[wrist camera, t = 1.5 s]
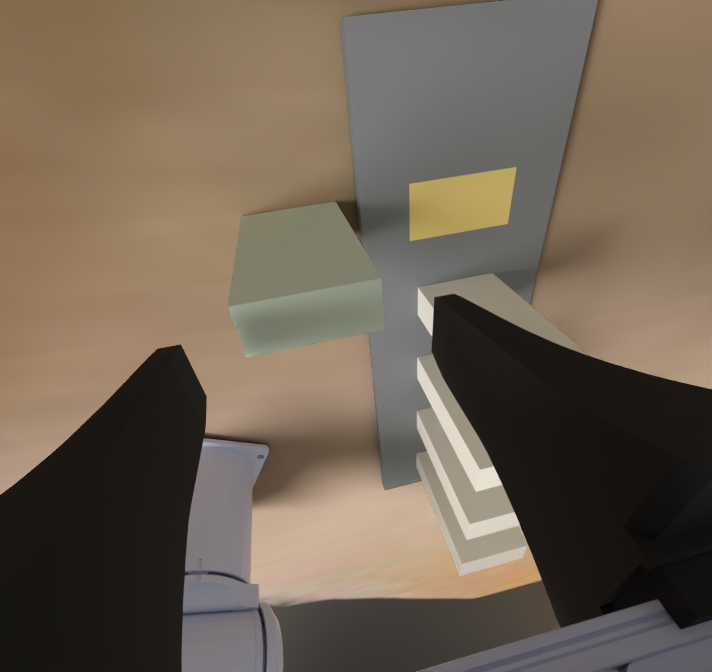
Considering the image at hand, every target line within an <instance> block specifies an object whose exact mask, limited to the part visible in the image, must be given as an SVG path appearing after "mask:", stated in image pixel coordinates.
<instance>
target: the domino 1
mask: <svg viewBox="0 0 712 672" xmlns="http://www.w3.org/2000/svg"><path fill="white" fill-rule="evenodd" d="M228 309H229V311H230V314H231V317H232V320H233V323H234V325H235V328H236V331H237V334H238V336H239V339H240V342H241V345H242V347H243V350H244V353H245V356H246V358H247V357H252V356H256V355H261V354H266V353H271V352H276V351H281V350H286V349H291V348H296V347H300V346H305V345H310V344H315V343H320V342H325V341H330V340H335V339H340V338H345V337H349V336H354V335H359V334H364V333H369V332H374V331H379V330H384V329H385V328H384V311H383V294H382V278H381V276H380V275H379V273H378V271H377V270H376V268H375V266H374V265H373V263H372V261H371V260H370V258H369V256H368V255H367V253H366V251H365V250H364V248H363V246H362V245H361V243H360V241H359V240H358V238H357V236H356V235H355V233H354V231H353V230H352V228H351V226H350V225H349V223H348V221H347V220H346V218H345V216H344V215H343V213H342V211H341V210H340V208H339V206H338V205H337V203H336V201H333V202H327V203H321V204H314V205H308V206H302V207H296V208H289V209H283V210H277V211H271V212H265V213H258V214H252V215H246V216H241V221H240V228H239V235H238V242H237V249H236V255H235V262H234V269H233V276H232V283H231V289H230V296H229V303H228Z"/></svg>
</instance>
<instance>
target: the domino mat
mask: <svg viewBox="0 0 712 672" xmlns="http://www.w3.org/2000/svg"><path fill="white" fill-rule="evenodd" d="M597 4H598V0H504V1H494V2H484V3H474V4H465V5H455V6H445V7H435V8H426V9H416V10H406V11H396V12H387V13H377V14H367V15H357V16H348V17H343V18H341V19H340V26H341V37H342V48H343V59H344V70H345V81H346V91H347V102H348V113H349V124H350V135H351V146H352V157H353V168H354V179H355V189H356V200H357V211H358V222H359V233H360V243H361V245H362V246H363V248H364V250H365V251H366V253H367V255H368V256H369V258H370V260H371V261H372V263H373V265H374V266H375V268H376V270H377V271H378V273H379V275H380V276H381V278H382V294H383V311H384V328H385V329H384V330H379V331H374V332H369V342H370V353H371V364H372V375H373V385H374V396H375V407H376V418H377V429H378V440H379V451H380V462H381V472H382V483H383V486H384V490H388V489H392V488H396V487H400V486H404V485H408V484H412V483H416V482H419V481H422V480H421V477H420V475H419V472H418V470H417V467H416V459H417V453H421V452H425V451H427V450H426V447H425V445H424V443H423V441H422V438H421V436H420V434H419V432H418V429H417V411H419V410H423V409H428V408H432V406H431V404H430V402H429V400H428V398H427V396H426V394H425V392H424V391H423V389H422V387H421V385H420V383H419V381H418V379H417V357H421V356H426V355H430V354H432V351H431V350H432V336H431V335H430V333H429V332H428V330H427V328H426V327H425V325H424V324H423V322H422V321H421V319H420V318H419V316H418V287H422V286H428V285H433V284H438V283H443V282H448V281H454V280H459V279H464V278H469V277H474V276H480V275H485V274H490V273H493V274H494V275H495V276H497V277H498V278H499V279H500V280H501V281H502V282H504V283H505V284H506V285H507V286H508V287H510V288H511V289H512V290H513V291H514V292H515V293H517V294H518V295H519V296H520V297H521V298H523V299H524V300H525V301H526V302H527V303H528V304H530V301H531V296H532V292H533V288H534V283H535V279H536V274H537V270H538V265H539V261H540V257H541V252H542V248H543V243H544V239H545V234H546V230H547V225H548V221H549V217H550V212H551V208H552V203H553V199H554V194H555V190H556V186H557V181H558V177H559V172H560V168H561V163H562V159H563V155H564V150H565V146H566V141H567V137H568V132H569V128H570V123H571V119H572V115H573V110H574V106H575V101H576V97H577V92H578V88H579V84H580V79H581V75H582V70H583V66H584V61H585V57H586V52H587V48H588V44H589V39H590V35H591V30H592V26H593V21H594V17H595V13H596V8H597Z"/></svg>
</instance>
